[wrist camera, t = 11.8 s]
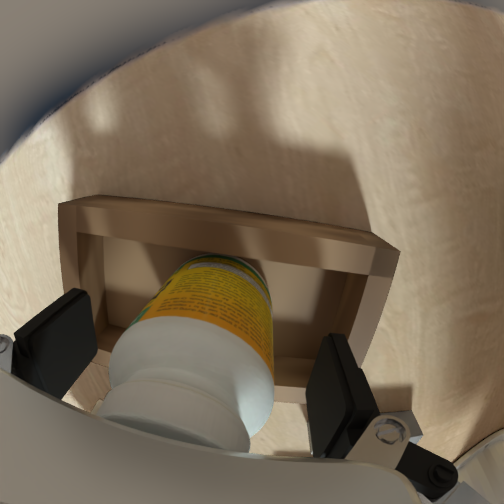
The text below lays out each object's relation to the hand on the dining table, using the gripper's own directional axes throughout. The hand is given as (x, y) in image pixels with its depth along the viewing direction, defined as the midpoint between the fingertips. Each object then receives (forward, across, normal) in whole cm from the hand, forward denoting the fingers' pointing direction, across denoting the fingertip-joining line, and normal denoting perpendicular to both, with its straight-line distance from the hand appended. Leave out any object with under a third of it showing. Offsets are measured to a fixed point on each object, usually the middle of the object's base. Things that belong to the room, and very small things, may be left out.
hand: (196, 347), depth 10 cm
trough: (+5, 0, 0) cm, 5 cm away
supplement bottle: (+4, 0, 0) cm, 5 cm away
